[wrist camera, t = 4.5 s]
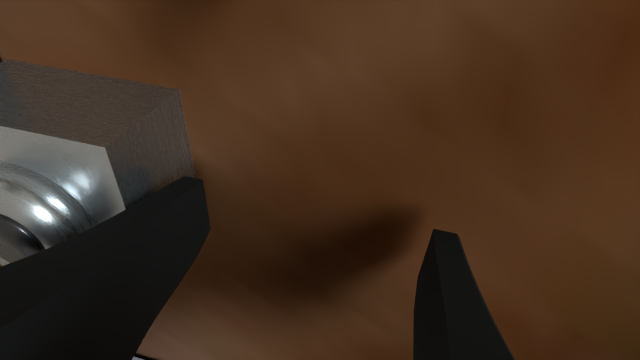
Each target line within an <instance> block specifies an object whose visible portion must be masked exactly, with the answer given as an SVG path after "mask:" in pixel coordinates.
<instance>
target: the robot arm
mask: <svg viewBox="0 0 640 360" xmlns="http://www.w3.org/2000/svg"><path fill="white" fill-rule="evenodd" d="M209 231H210V223H209V217H208V211H207V204H206V198H205V192H204V186H203V180H201V179H196V178H191V177H187V176H183V177H181V178H179V179H177V180H176V181H174V182H172V183H170V184H169V185H167V186H165V187H163V188H162V189H160V190H158V191H157V192H155V193H153V194H151V195H150V196H148V197H146V198H145V199H143V200H141V201H139V202H138V203H136V204H134V205H132V206H131V207H129V208H127V209H125V210H124V211H122V212H120V213H118V214H117V215H115V216H113V217H111V218H109V219H107V220H105V221H103V222H101V223H99V224H98V225H96V226H94V227H92V228H90V229H88V230H86V231H84V232H82V233H80V234H78V235H76V236H74V237H72V238H70V239H68V240H65V241H63V242H61V243H59V244H57V245H54V246H52V247H50V248H47V249H45V250H43V251H40V252H38V253H36V254H33V255H31V256H28V257H25V258H23V259H20V260H17V261H15V262H12V263H9V264H7V265H4V266H1V267H0V360H144V359H141V358H138V357H134V355H135V353H136V351H137V349H138V348H139V346H140V344H141V342H142V340H143V338H144V337H145V335H146V333H147V331H148V330H149V328H150V326H151V325H152V323H153V321H154V320H155V318H156V317H157V315H158V314H159V312H160V311H161V309H162V308H163V306H164V305H165V303H166V302H167V301H168V299H169V298H170V296H171V295H172V293H173V292H174V290H175V289H176V287H177V286H178V284H179V283H180V281H181V280H182V278H183V277H184V275H185V274H186V272H187V271H188V269H189V268H190V266H191V265H192V263H193V262H194V260H195V259H196V257H197V255H198V253H199V251H200V249H201V247H202V245H203V243H204V241H205V239H206V237H207V235H208V233H209ZM413 360H515V359H514V357H513V356H512V354H511V352H510V350H509V348H508V347H507V345H506V343H505V341H504V339H503V337H502V336H501V334H500V332H499V330H498V328H497V326H496V324H495V322H494V320H493V318H492V316H491V314H490V312H489V310H488V308H487V306H486V303H485V301H484V299H483V297H482V295H481V293H480V290H479V288H478V286H477V283H476V281H475V279H474V276H473V274H472V271H471V269H470V266H469V264H468V261H467V258H466V256H465V253H464V250H463V247H462V244H461V241H460V238H459V236H458V235H457V234H455V233H450V232H446V231H441V230H436V229H433V232H432V235H431V239H430V242H429V245H428V248H427V251H426V254H425V257H424V260H423V263H422V266H421V269H420V272H419V275H418V280H417V288H416V296H415V305H414V350H413Z"/></svg>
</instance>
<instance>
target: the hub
mask: <svg viewBox="0 0 640 360" xmlns="http://www.w3.org/2000/svg"><path fill="white" fill-rule="evenodd" d="M183 176H187V177H191V178H195V174H194V168H193V162H192V157H191V151H190V145H189V140H188V134H187V128H186V123H185V117H184V111H183V105H182V100H181V94H180V89H176V88H170V87H164V86H158V85H153V84H147V83H141V82H135V81H130V80H124V79H118V78H112V77H106V76H101V75H95V74H89V73H83V72H78V71H72V70H66V69H60V68H54V67H49V66H43V65H37V64H31V63H26V62H20V61H14V60H6V61H3V62H1V63H0V264H1V265H3V266H4V265H7V264H9V263H12V262H15V261H17V260H20V259H23V258H25V257H28V256H31V255H33V254H36V253H38V252H40V251H43V250H45V249H47V248H50V247H52V246H54V245H57V244H59V243H61V242H63V241H65V240H68V239H70V238H72V237H74V236H76V235H78V234H80V233H82V232H84V231H86V230H88V229H90V228H92V227H94V226H96V225H98V224H99V223H101V222H103V221H105V220H107V219H109V218H111V217H113V216H115V215H117V214H118V213H120V212H122V211H124V210H125V209H127V208H129V207H131V206H132V205H134V204H136V203H138V202H139V201H141V200H143V199H145V198H146V197H148V196H150V195H151V194H153V193H155V192H157V191H158V190H160V189H162V188H163V187H165V186H167V185H169V184H170V183H172V182H174V181H176V180H177V179H179V178H181V177H183Z"/></svg>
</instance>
